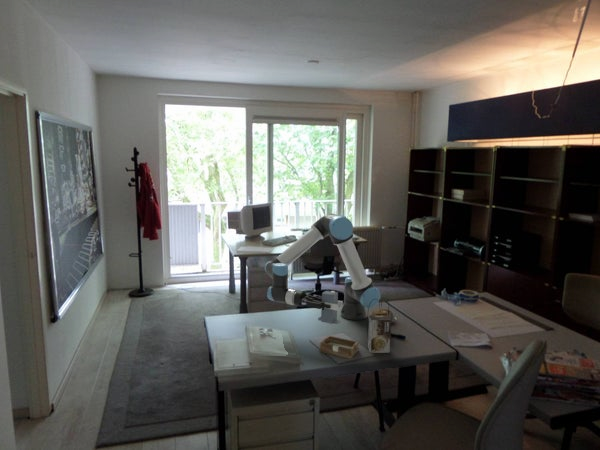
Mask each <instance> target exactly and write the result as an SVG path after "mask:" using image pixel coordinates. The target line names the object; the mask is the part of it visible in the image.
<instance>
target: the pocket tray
mask: <svg viewBox="0 0 600 450" xmlns="http://www.w3.org/2000/svg"><path fill="white" fill-rule="evenodd" d="M319 343H320V344H319V350H318V352H319V353H324V354H329V355H333V356H337V357H341V358H346V359H353V357H354V356H355V355H356V354H357V353H358V352H359V342H358V341H357V340H353V339H347V338H343V337H339V336H334V335H327V336H326V337H324V338H323V339H322V340H321V341H320V342H319Z"/></svg>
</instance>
